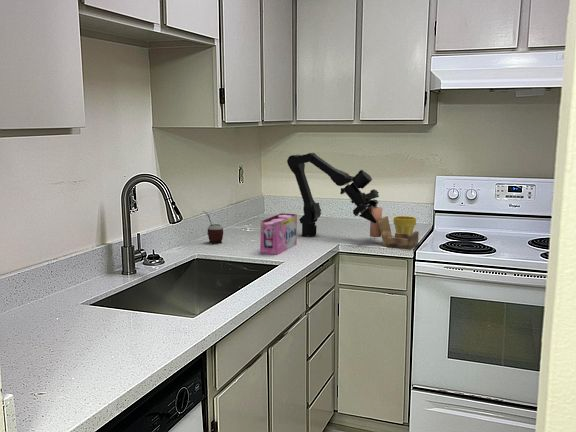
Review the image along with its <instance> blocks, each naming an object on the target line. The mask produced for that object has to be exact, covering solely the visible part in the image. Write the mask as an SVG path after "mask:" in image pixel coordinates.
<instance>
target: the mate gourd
mask: <svg viewBox="0 0 576 432" xmlns="http://www.w3.org/2000/svg"><path fill="white" fill-rule="evenodd" d="M202 212H203V213H205V214H206V217H207V218H208V221H209V223H210V225H208V227H207V237H208V240H209V241H208V244H209V243H210V244H212V245H215V244H223V239H224V238H223V236H224V227H223V226H222V225H221V224H217V223H215V224H214V223H212V220H211V216H210V215H209V213H208V212H206V211H205V210H203V211H202Z"/></svg>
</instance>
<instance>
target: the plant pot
mask: <svg viewBox="0 0 576 432" xmlns="http://www.w3.org/2000/svg"><path fill="white" fill-rule="evenodd" d="M393 225H394V228H395V233H404V234H412V233H413V232H414V230H415V227H416V225H417V218H416V217H415V216H407V215H397V216H393Z"/></svg>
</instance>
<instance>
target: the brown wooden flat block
mask: <svg viewBox="0 0 576 432" xmlns="http://www.w3.org/2000/svg"><path fill="white" fill-rule="evenodd" d="M378 222H379V227H380V231H381V239H382V240H381V241H382V245H383V247H387V237H393V235H392V231H391V224H390V221H389V216H388V215H386V216H382V218H381V219H379V220H378Z"/></svg>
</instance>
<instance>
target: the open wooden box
mask: <svg viewBox="0 0 576 432" xmlns="http://www.w3.org/2000/svg"><path fill="white" fill-rule="evenodd" d="M419 234H420V233H419V231H416V230H415V231H413V233H412V234H404V233H396V232H395V233H394V237H393V236H392V237H387V246H386V247H387V248H390V249H398V250H399V249H401V250H408V251H410V250H413V249H414V248H415V247H417V246H418V245H419Z"/></svg>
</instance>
